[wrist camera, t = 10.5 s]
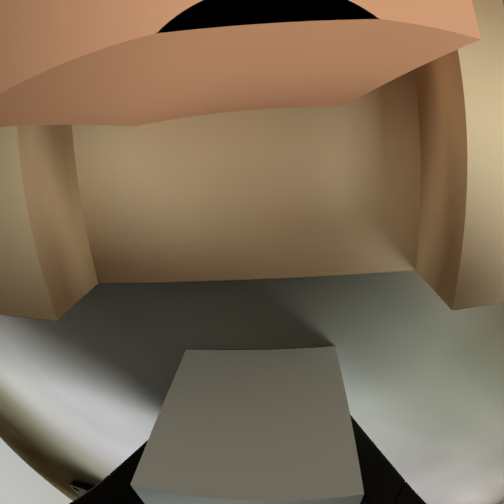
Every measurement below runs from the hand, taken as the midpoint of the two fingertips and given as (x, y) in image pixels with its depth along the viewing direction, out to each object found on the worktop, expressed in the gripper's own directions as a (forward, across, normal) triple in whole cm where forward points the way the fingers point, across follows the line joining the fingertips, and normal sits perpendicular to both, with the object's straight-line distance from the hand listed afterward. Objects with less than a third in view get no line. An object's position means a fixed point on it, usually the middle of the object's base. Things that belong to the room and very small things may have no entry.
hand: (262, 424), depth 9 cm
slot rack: (+1, +6, -11) cm, 13 cm away
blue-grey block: (+1, 0, 0) cm, 1 cm away
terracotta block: (0, 0, -11) cm, 11 cm away
